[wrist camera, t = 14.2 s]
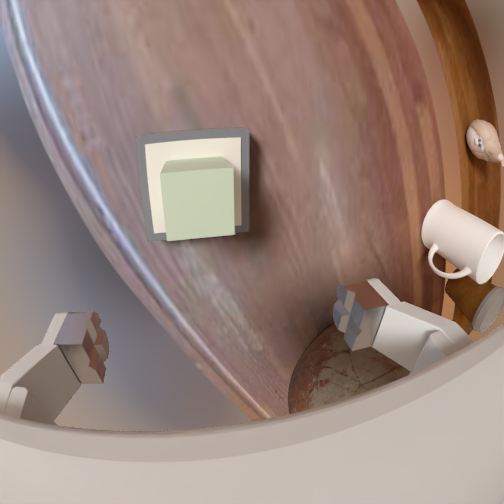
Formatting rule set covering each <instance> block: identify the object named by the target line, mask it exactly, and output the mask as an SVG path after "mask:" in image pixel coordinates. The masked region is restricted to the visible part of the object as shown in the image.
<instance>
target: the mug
mask: <svg viewBox="0 0 504 504" xmlns="http://www.w3.org/2000/svg"><path fill="white" fill-rule="evenodd" d="M421 237H422V241H423V244H424V245H425V246H426V247H427V248H428V249H430V250H429V254H428V262H429V265H430V267H431V269H432V270H433V271H434V272H435V273H436V274H438V275H439V276H441V277H444V278H449V279H457V278H461V277H464V276H466V275H468V276H469V277H470V278H472V279H473V280H474V281H475V282H477V283H478V284H483V283H485V282H487V281H488V280H489V279H490V278H491V277H492V275H493V274H494V273H495V271H496V269H497V268H498V266H499V264H500V261H501V259H502V256H503V254H504V233H503V232H502V231H500V230H499V229H497V228H495V227H494V226H492V225H490V224H488V223H487V222H485V221H483V220H481V219H479V218H478V217H476V216H474V215H472V214H470V213H468V212H466V211H465V210H463V209H461V208H459V207H457V206H455V205H453V204H452V203H451V202H450V201H448V200H439V201H437V202H436V203H435V204H434V205H433V206H432V207H431V208H430V209H429V211H428V212H427V214H426V216H425V218H424V221H423V225H422V230H421ZM435 252H436V253H438V254H439V255H441V256H442V257H444V258H445V259H446V260H448V261H449V262H450V263H452V264H453V265H454V266H456V267H457V268H458V269H460V270H461V271H459V272H456V273H445V272H442V271H440V270H438V269H437V268H436V267H435V266H434V265H433V262H432V258H433V255H434V253H435Z"/></svg>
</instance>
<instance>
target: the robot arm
mask: <svg viewBox="0 0 504 504" xmlns="http://www.w3.org/2000/svg"><path fill="white" fill-rule="evenodd" d="M336 295H337V297H338V301H337V302H336V303H335V304H334V307H333V320H334V323H335V325H336V327H337V329H338V330H339V331H341V332H343V333H345V334H344V340H345V341H346V343H347V344H348V346H349V347H350V349H351V350H352V351H354V350H358V349H362V348H366V347H370V346H372V347H373V348H374V349H376V350H378V351H379V352H381V353H382V354H384V355H385V356H387V357H389V358H390V359H392V360H393V361H395V362H396V363H398V364H400V365H401V366H403V367H404V368H406V369H408V370H409V371H411V372H410V373H409V375H408V376H406V377H403V378H401V379H398V380H396V381H393V382H391V383H388V384H386V385H383V386H381V387H378V388H375V389H373V390H370V391H367V392H364V393H361V394H359V395H356V396H353V397H350V398H346V399H343V400H340V401H337V402H334V403H330V404H327V405H323V406H320V407H316V408H312V409H308V410H305V411H301V412H296V413H292V414H288V415H283V416H279V417H274V418H269V419H264V420H258V421H253V422H247V423H240V424H234V425H226V426H219V427H209V428H199V429H187V430H170V431H111V430H110V431H109V430H94V429H83V428H74V427H65V426H58V425H57V424H56V423H55V421H54V420H55V419H56V418H57V416H58V415H59V413H60V412H61V411H62V410H63V408H64V407H65V405H66V404H67V403H68V402H69V400H70V399H71V398H72V396H73V395H74V394H75V392H76V391H77V390H78V389H79V387H80V386H81V384H103V382H104V376H105V371H106V367H105V365H104V363H103V362H104V361H105V360H106V359H108V355H109V342H108V338H107V335H106V332H105V331H104V330H103V329H101V328H100V327H99V326H100V323H101V320H100V318H99V315H98V313H96V312H95V311H89V312H58V313H56V314H55V316H54V318H53V320H52V322H51V324H50V326H49V328H48V331H47V333H46V335H45V337H44V339H43V342H42V344H41V345H37V346H35V347H34V348H33V349H32V350H31V351H29V352H28V353H27V354H26V355H25V356H23V357H22V358H21V359H20V360H19V361H18V362H16V363H15V364H14V365H13V366H12V367H10V368H9V369H8V370H7V371H6V372H5V373H4V374H2V375H1V376H0V504H504V324H502V325H501V326H499V327H498V328H496V329H495V330H493V331H491V332H490V333H488V334H487V335H485V336H483V337H482V338H481V339H479V340H477V341H475V342H474V341H473V340H472V339H471V338H470V337H469V336H468V335H467V333H466V332H465V331H464V330H463V329H462V328H461V327H460V326H459V325H458V324H457V323H456V322H453V321H451V320H449V319H446V318H444V317H441V316H439V315H436V314H434V313H431V312H429V311H427V310H424V309H422V308H419V307H417V306H414V305H412V304H409V303H407V302H400V301H399V299H398V298H397V297H396V296H395V295H394V294H393V293H392V292H391V291H390V290H389V289H388V288H387V287H386V286H385V285H384V284H383V283H382V282H381V281H380V280H379V279H376V278H372V279H368V280H364V281H359V282H354V283H348V284H342V285H339V287H338V288H337V293H336Z"/></svg>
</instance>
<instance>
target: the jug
mask: <svg viewBox="0 0 504 504" xmlns="http://www.w3.org/2000/svg"><path fill="white" fill-rule="evenodd" d="M344 334H345V333H343V332H341V331H339V330H338V329H337V327H336V325H332V326H330V327H328V328H326V329H325V330H323V331H322V332H321V333H320V334H319V335H317V336H316V337H315V339H314V340H313V341H312V343H311V345H310V346H309V347H308V348H307V349H306V350H305V352H304V353H303V355H302V356H301V358H300V359H299V361H298V362H297V365H296V367H295V369H294V371H293V374H292V377H291V380H290V384H289V392H288V407H289V413H290V414H292V413H296V412H301V411H305V410H308V409H312V408H316V407H320V406H323V405H327V404H330V403H334V402H337V401H340V400H343V399H346V398H350V397H353V396H356V395H359V394H361V393H364V392H367V391H370V390H373V389H375V388H378V387H381V386H383V385H386V384H388V383H391V382H393V381H396V380H398V379H401V378H403V377H406V376H408V375H409V373H410V372H411V371H409V370H408V369H406V368H404V367H403V366H401V365H400V364H398V363H396V362H395V361H393V360H392V359H390V358H389V357H387V356H385V355H384V354H382V353H381V352H379V351H378V350H376V349H374V348H373V347H372V346H370V347H366V348H362V349H358V350H354V351H352V350H351V349H350V347H349V346H348V344H347V343H346V341H345V340H344Z"/></svg>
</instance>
